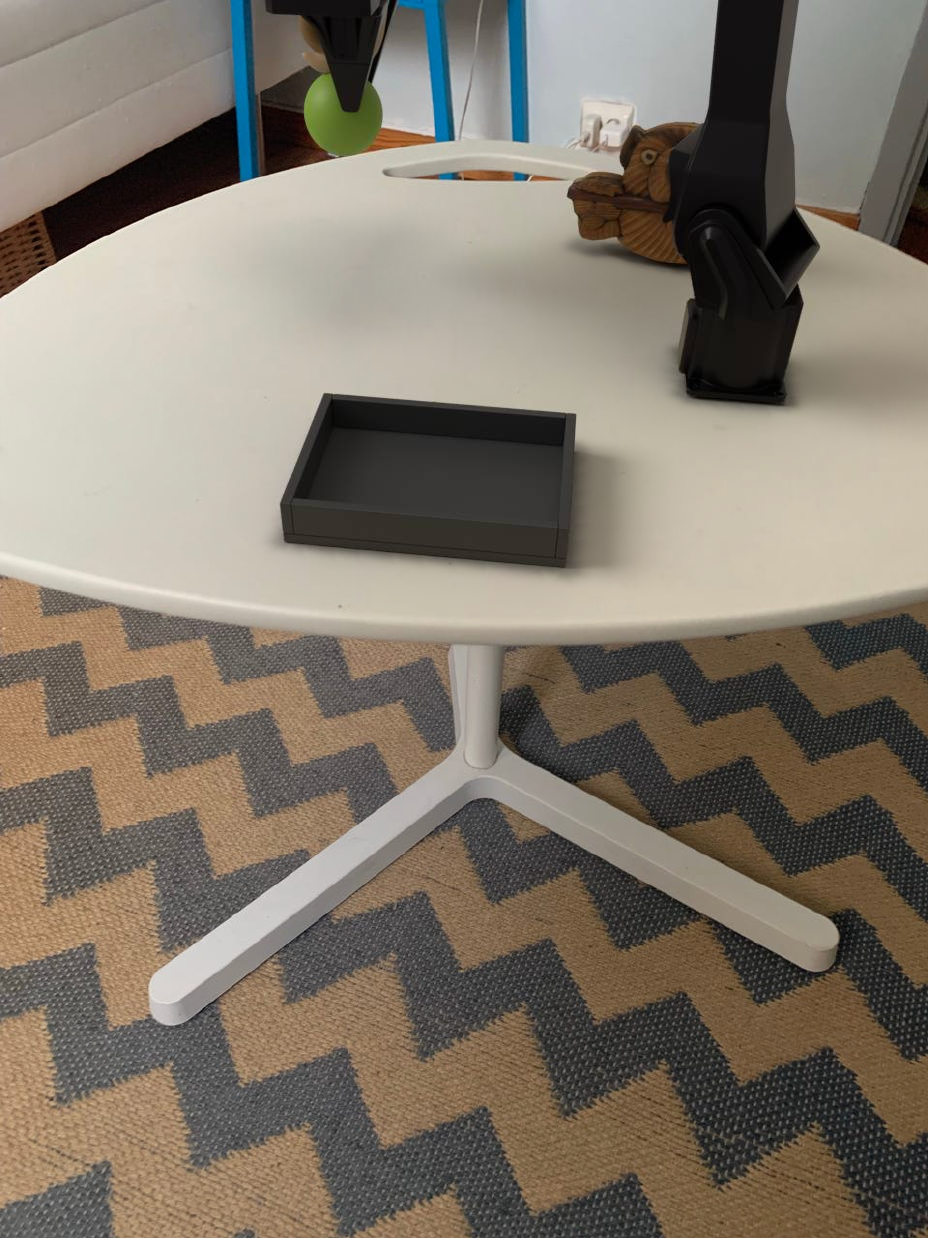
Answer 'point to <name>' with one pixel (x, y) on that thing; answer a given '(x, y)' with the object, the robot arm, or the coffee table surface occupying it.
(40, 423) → the coffee table surface
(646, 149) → the wooden carving
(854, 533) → the coffee table surface
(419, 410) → the tray
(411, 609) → the coffee table surface
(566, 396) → the coffee table surface
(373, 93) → the snail figurine
